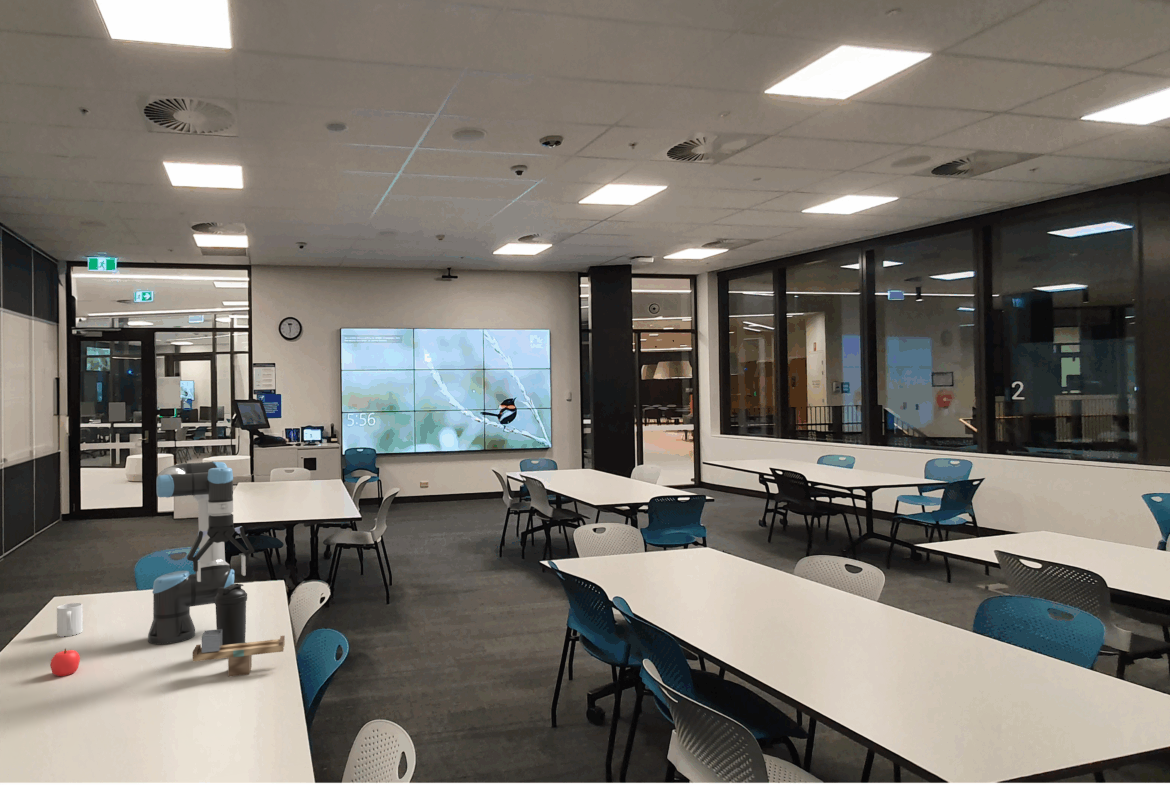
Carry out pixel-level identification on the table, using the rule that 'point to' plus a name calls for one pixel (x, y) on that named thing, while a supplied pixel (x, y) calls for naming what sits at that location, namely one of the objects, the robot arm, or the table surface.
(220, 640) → the block
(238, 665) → the beam
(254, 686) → the table surface
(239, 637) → the water bottle
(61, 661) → the apple
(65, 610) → the mug
